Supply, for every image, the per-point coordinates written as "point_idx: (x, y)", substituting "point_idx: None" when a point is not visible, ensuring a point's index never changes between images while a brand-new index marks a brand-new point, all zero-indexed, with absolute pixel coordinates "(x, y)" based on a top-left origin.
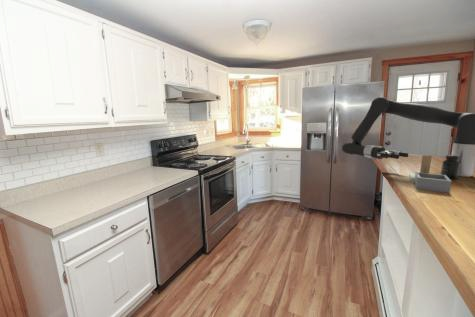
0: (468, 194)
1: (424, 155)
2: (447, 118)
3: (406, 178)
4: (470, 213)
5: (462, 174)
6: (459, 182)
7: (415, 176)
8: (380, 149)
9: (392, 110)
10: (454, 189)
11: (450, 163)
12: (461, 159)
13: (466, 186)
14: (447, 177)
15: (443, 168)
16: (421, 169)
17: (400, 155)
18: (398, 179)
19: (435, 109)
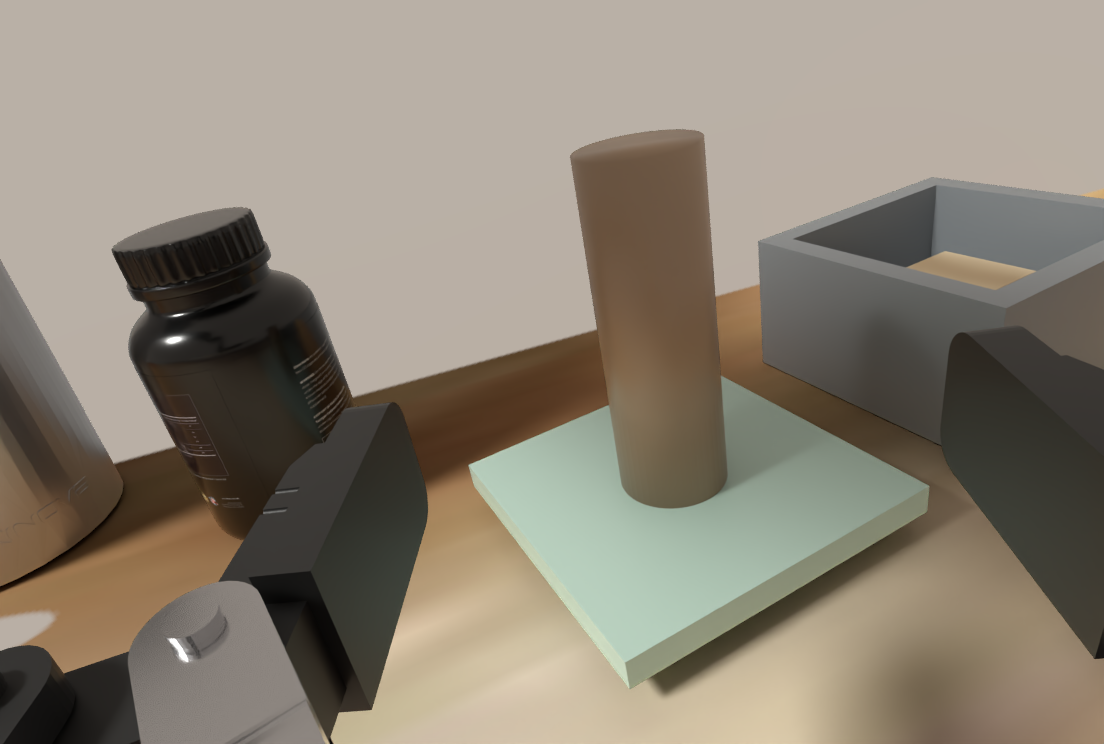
0: (756, 289)
1: (672, 144)
2: None
3: (819, 654)
4: (1098, 190)
5: (113, 468)
6: (426, 410)
7: (1039, 335)
8: None
9: None
10: (720, 338)
11: (312, 296)
12: (16, 322)
13: (532, 357)
14: (839, 213)
15: (311, 400)
16: (718, 378)
17: (367, 668)
18: (1056, 667)
19: None
